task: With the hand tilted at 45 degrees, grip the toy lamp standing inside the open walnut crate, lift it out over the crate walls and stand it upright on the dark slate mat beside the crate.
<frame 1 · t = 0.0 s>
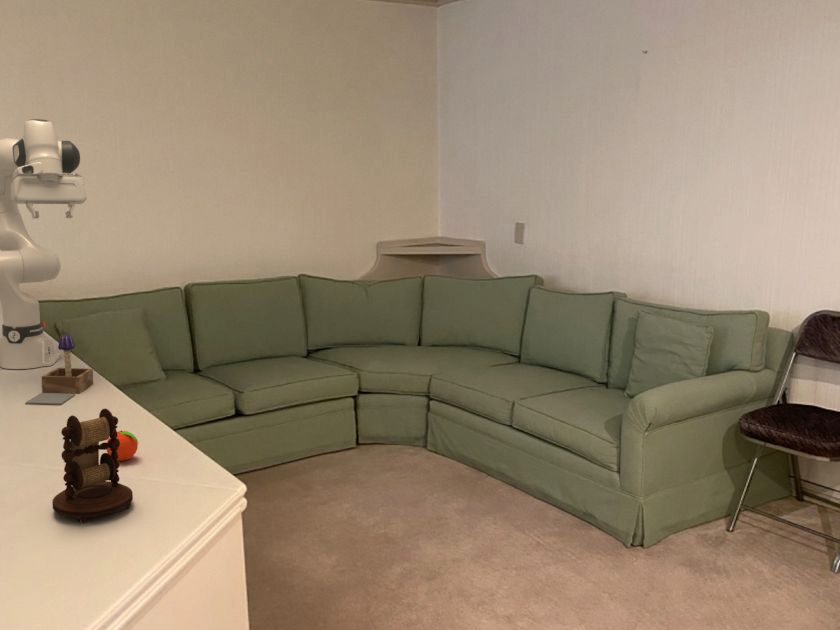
hand: (52, 217, 230), 52 cm above the table, tool tilted 20°, fingers open, 8 cm apart
toy lamp: (68, 389, 240), resting in walnut crate
slate mat: (50, 399, 228), on the table
walnut crate: (68, 388, 240), on the table
clementine: (124, 461, 183), on the table
brown wooden spool rack: (93, 509, 156), on the table
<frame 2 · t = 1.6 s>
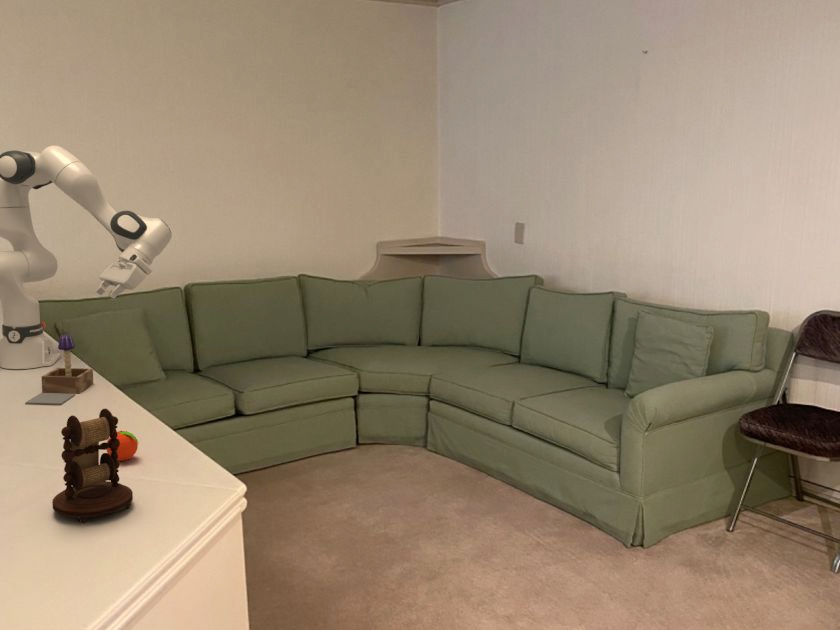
hand: (104, 295, 244), 28 cm above the table, tool tilted 45°, fingers open, 8 cm apart
nothing on the table moved.
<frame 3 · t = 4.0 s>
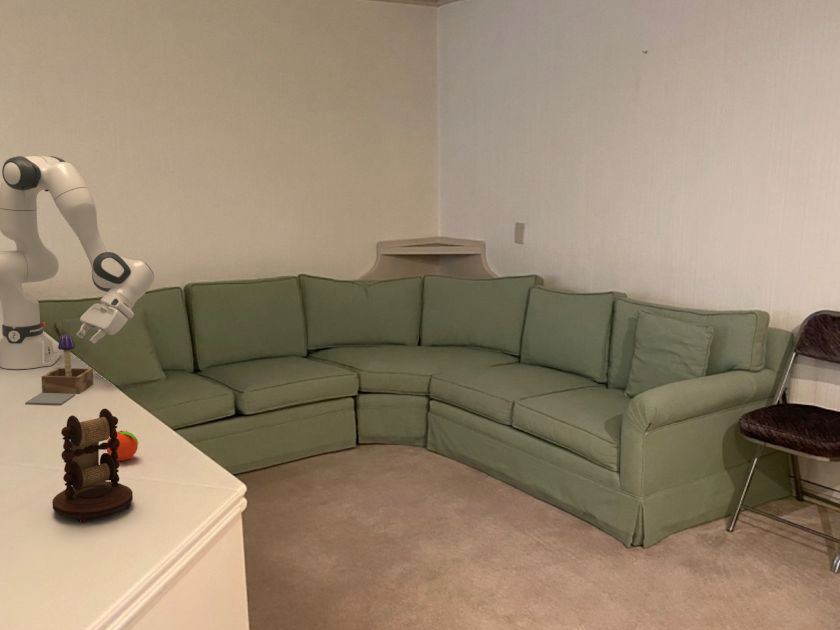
hand: (85, 339, 242), 15 cm above the table, tool tilted 45°, fingers open, 8 cm apart
nothing on the table moved.
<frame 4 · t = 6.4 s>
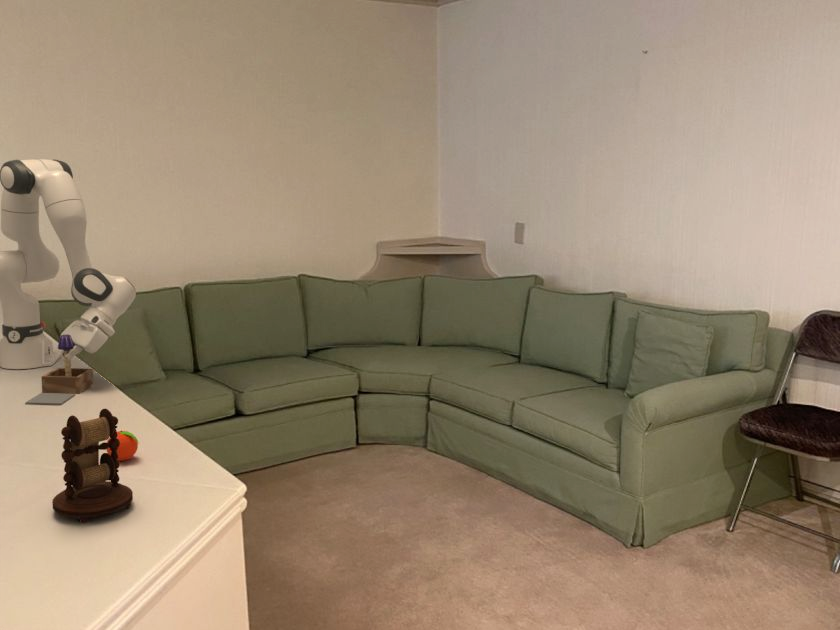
hand: (64, 357, 238), 10 cm above the table, tool tilted 45°, fingers closed on toy lamp
toy lamp: (68, 389, 240), resting in walnut crate, touching gripper
everything else where it was.
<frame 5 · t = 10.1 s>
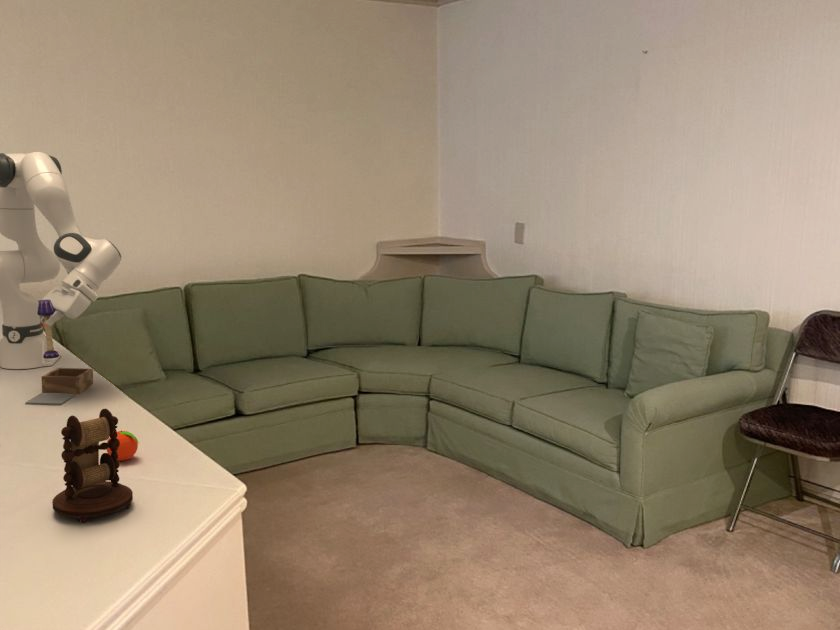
hand: (44, 323, 224), 23 cm above the table, tool tilted 45°, fingers closed on toy lamp
toy lamp: (50, 357, 226), point 13 cm above the table, touching gripper
everything else where it was.
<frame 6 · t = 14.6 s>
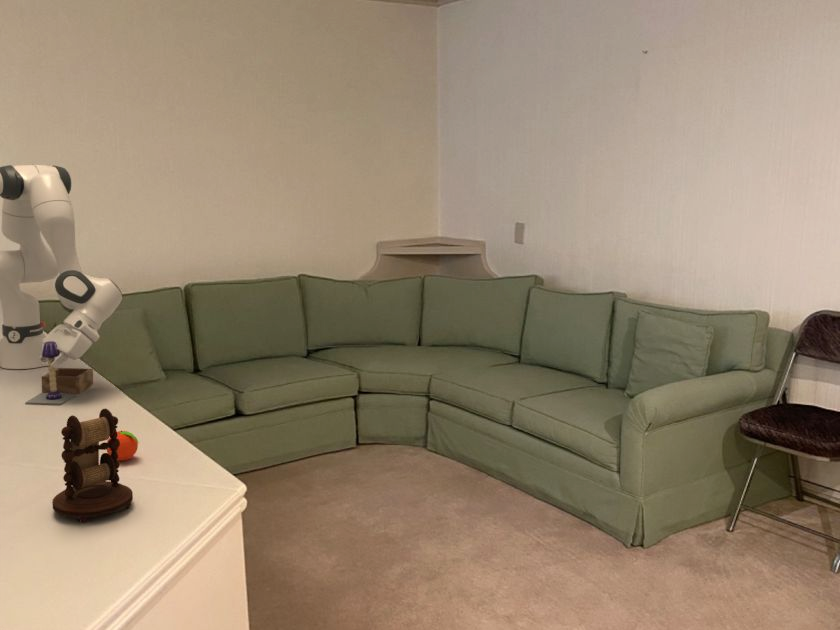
hand: (46, 363, 226), 11 cm above the table, tool tilted 45°, fingers open, 7 cm apart
toy lamp: (52, 398, 228), resting on slate mat
everything else where it was.
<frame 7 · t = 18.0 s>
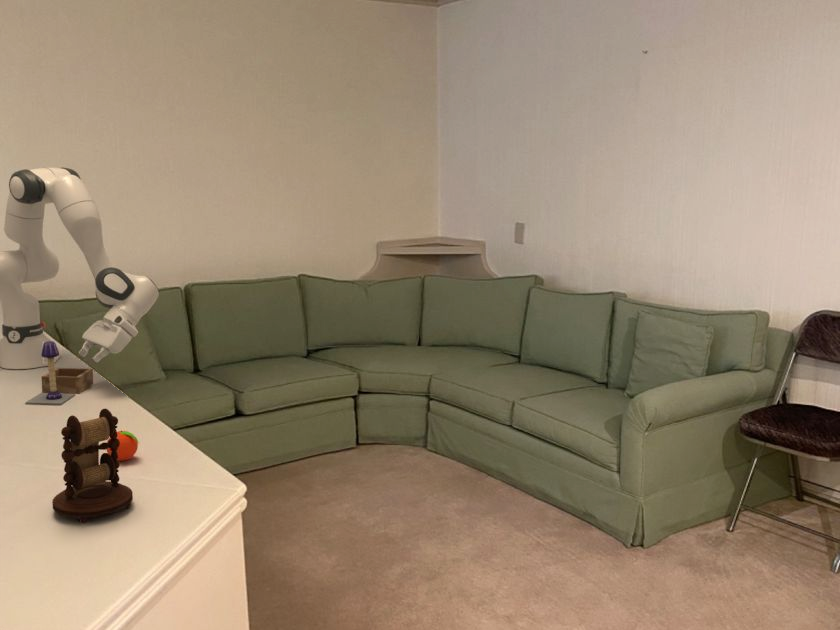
hand: (87, 358, 234), 11 cm above the table, tool tilted 45°, fingers open, 8 cm apart
nothing on the table moved.
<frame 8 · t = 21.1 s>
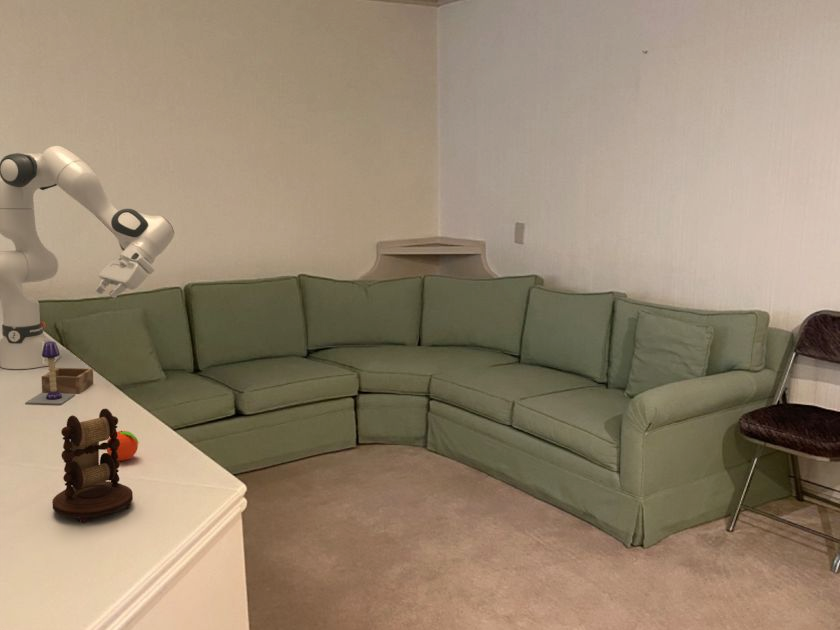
hand: (104, 294, 237), 29 cm above the table, tool tilted 45°, fingers open, 8 cm apart
nothing on the table moved.
at the end: toy lamp inside the target area on the slate mat (0.6 cm from its centre), point 0.3 cm above the slate mat's base; toy lamp tilted 0°; the gripper is holding nothing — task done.
